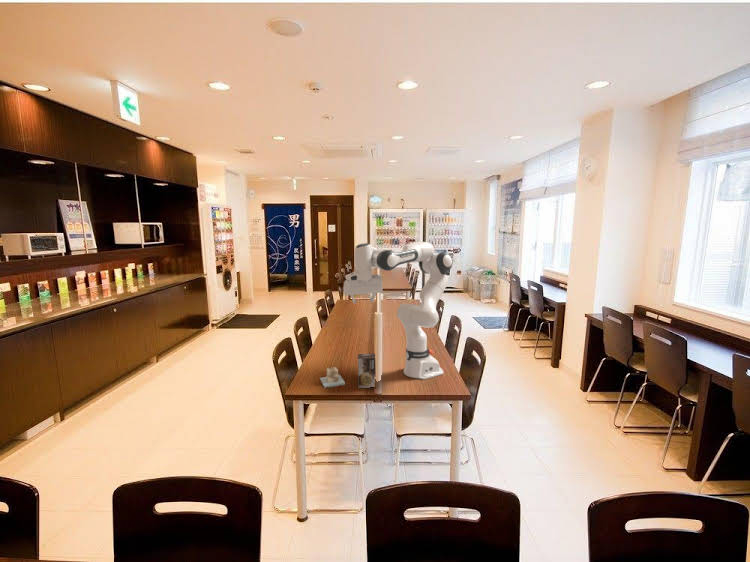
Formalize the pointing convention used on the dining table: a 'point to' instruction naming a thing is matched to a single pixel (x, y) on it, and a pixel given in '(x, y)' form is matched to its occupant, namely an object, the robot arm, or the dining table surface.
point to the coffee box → (366, 370)
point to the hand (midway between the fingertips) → (363, 302)
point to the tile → (332, 384)
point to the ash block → (332, 374)
